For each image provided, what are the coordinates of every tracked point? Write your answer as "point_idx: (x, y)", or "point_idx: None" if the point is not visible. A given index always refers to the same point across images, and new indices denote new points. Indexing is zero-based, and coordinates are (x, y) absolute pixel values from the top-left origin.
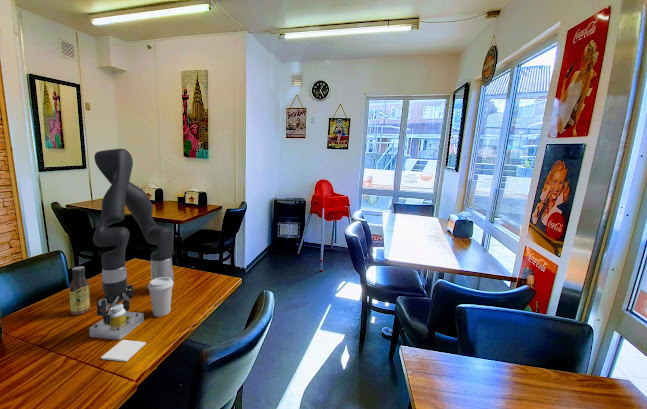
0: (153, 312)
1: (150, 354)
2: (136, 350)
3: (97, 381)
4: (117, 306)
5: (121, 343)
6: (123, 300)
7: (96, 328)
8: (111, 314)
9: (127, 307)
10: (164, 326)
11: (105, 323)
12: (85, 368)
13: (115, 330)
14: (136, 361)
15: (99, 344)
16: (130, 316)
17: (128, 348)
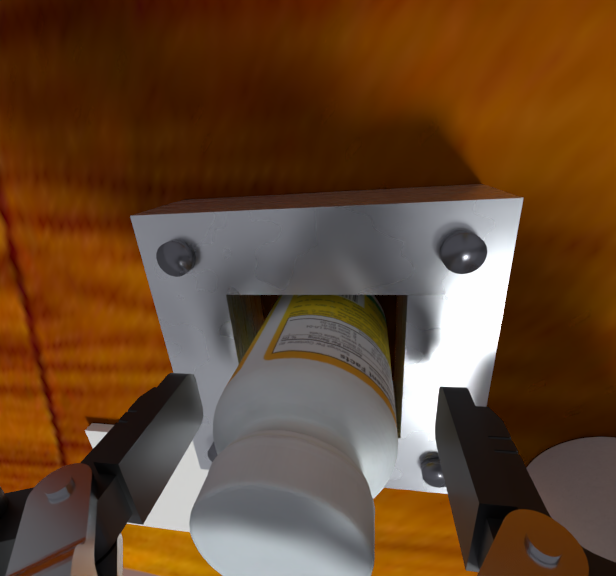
0: (550, 482)
1: (198, 564)
2: (183, 530)
3: (26, 482)
4: (278, 558)
5: (194, 453)
6: (504, 559)
7: (158, 287)
8: (217, 445)
9: (446, 481)
10: (401, 548)
11: (253, 291)
12: (28, 404)
13: (197, 441)
14: (149, 541)
15: (155, 336)
16: (402, 429)
17: (179, 498)
